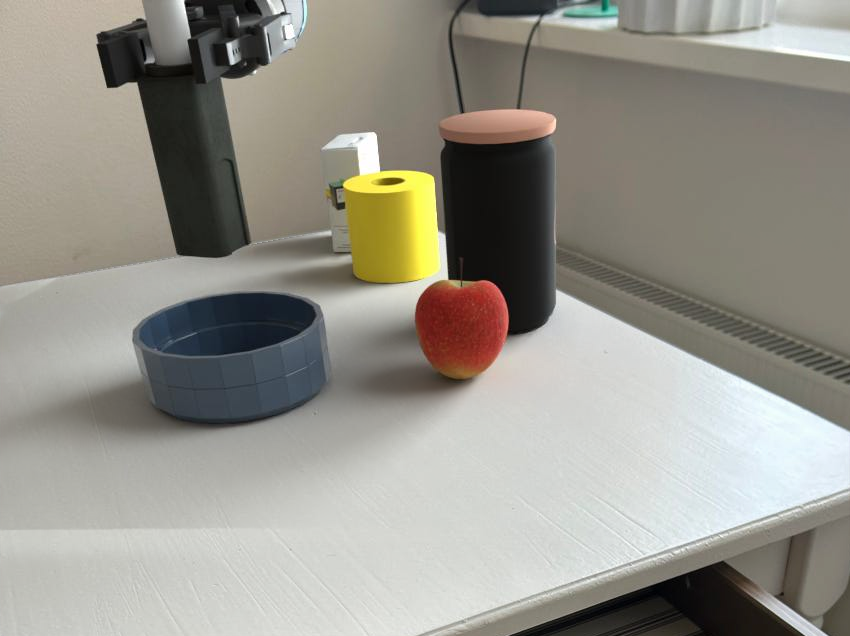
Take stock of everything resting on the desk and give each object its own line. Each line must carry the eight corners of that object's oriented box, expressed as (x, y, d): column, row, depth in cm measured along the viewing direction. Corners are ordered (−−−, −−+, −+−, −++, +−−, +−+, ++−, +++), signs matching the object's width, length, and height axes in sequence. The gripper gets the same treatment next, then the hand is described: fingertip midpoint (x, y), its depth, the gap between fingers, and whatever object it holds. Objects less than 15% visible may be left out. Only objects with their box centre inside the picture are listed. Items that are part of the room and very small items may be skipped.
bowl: (124, 429, 82) (104, 360, 79) (181, 355, 95) (166, 293, 91) (313, 425, 81) (301, 356, 77) (345, 351, 94) (336, 288, 90)
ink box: (349, 232, 126) (337, 131, 119) (387, 232, 125) (377, 131, 118) (332, 253, 119) (318, 147, 112) (371, 253, 119) (359, 146, 112)
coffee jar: (577, 319, 98) (580, 119, 87) (490, 346, 93) (481, 137, 82) (515, 293, 105) (510, 104, 94) (430, 316, 100) (415, 121, 89)
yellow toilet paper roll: (445, 255, 117) (440, 169, 111) (432, 282, 109) (426, 192, 103) (363, 256, 118) (354, 171, 112) (345, 283, 110) (333, 193, 104)
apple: (406, 388, 86) (395, 273, 80) (437, 353, 92) (429, 244, 86) (493, 396, 84) (488, 278, 78) (519, 360, 90) (517, 248, 84)
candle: (223, 259, 79) (142, -138, 63) (170, 255, 80) (79, -133, 65) (256, 240, 82) (187, -139, 67) (205, 237, 84) (126, -134, 68)
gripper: (344, 68, 88) (292, 117, 70) (142, 77, 90) (39, 129, 72) (333, -33, 84) (273, -7, 66) (120, -21, 85) (4, 7, 67)
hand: (151, 63), depth 69 cm, fingers closed on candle, 6 cm apart
